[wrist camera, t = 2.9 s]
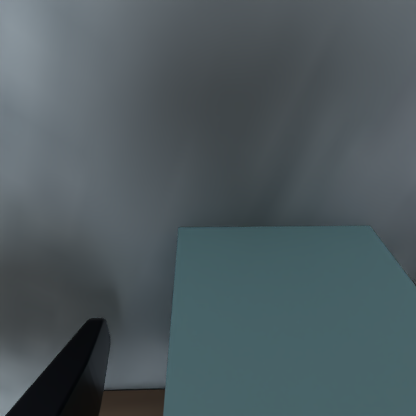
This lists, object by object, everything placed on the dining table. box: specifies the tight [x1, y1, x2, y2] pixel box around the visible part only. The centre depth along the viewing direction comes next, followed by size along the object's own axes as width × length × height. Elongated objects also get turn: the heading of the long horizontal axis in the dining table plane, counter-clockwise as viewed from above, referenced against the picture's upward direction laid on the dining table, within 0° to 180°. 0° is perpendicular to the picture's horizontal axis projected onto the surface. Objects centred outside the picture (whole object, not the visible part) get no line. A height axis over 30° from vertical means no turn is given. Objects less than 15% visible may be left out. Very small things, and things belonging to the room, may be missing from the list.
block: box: [163, 226, 416, 416], centre depth 8 cm, size 5×5×5 cm
